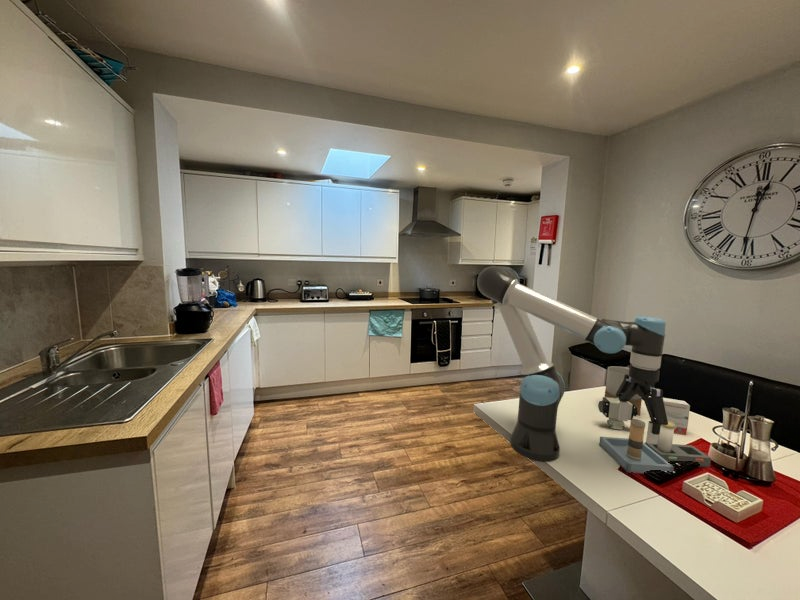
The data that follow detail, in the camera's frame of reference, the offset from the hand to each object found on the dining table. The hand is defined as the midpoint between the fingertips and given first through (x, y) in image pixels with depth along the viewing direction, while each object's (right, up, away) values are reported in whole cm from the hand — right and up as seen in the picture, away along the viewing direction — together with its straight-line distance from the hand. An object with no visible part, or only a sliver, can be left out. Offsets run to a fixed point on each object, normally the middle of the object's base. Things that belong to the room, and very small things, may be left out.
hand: (636, 431), depth 100 cm
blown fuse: (0, -9, +1) cm, 9 cm away
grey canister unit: (+21, -6, +36) cm, 42 cm away
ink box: (+29, -8, +21) cm, 37 cm away
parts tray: (0, -9, +1) cm, 9 cm away
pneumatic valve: (+8, -8, +21) cm, 24 cm away
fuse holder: (+14, -10, +2) cm, 17 cm away
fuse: (+10, -10, +2) cm, 14 cm away
